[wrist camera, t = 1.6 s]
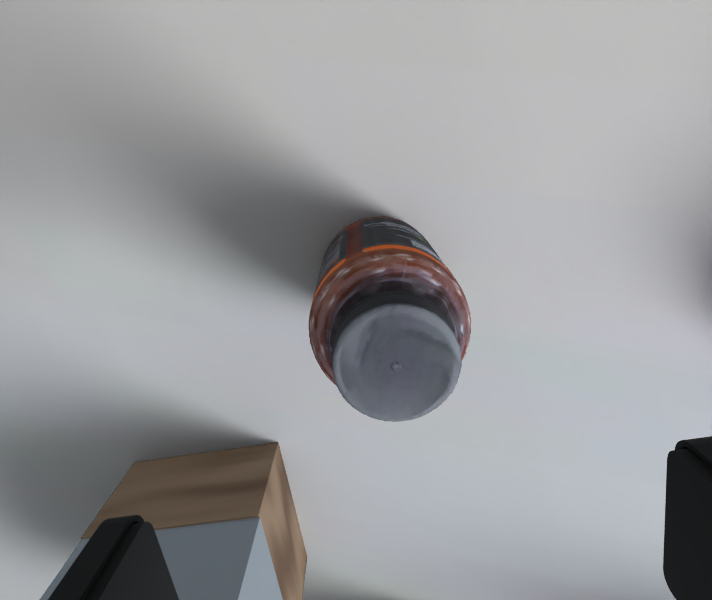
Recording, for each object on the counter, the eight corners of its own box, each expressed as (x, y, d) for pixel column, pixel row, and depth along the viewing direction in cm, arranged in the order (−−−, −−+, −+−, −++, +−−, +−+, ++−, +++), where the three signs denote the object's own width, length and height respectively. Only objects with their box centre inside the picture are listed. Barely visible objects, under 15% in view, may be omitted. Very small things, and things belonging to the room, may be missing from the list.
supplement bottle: (324, 323, 26) (299, 451, 15) (320, 214, 24) (289, 271, 13) (433, 322, 26) (485, 450, 15) (437, 213, 24) (502, 269, 13)
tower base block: (135, 460, 29) (81, 538, 23) (278, 440, 28) (258, 515, 23) (176, 571, 32) (136, 665, 26) (307, 555, 31) (295, 647, 26)
